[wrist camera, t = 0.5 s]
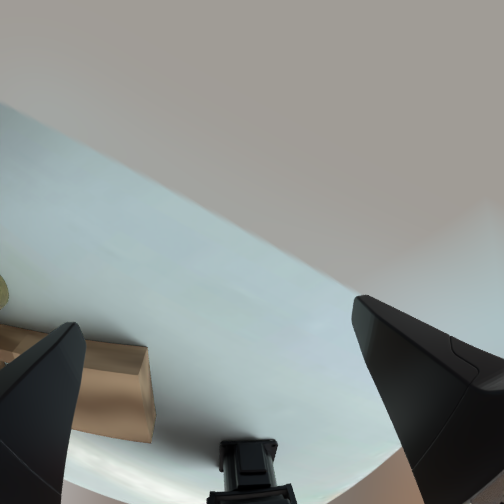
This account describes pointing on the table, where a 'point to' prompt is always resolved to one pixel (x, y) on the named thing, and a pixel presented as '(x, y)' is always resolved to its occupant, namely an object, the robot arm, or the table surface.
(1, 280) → the disc
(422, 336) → the robot arm
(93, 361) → the jig
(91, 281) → the table surface
